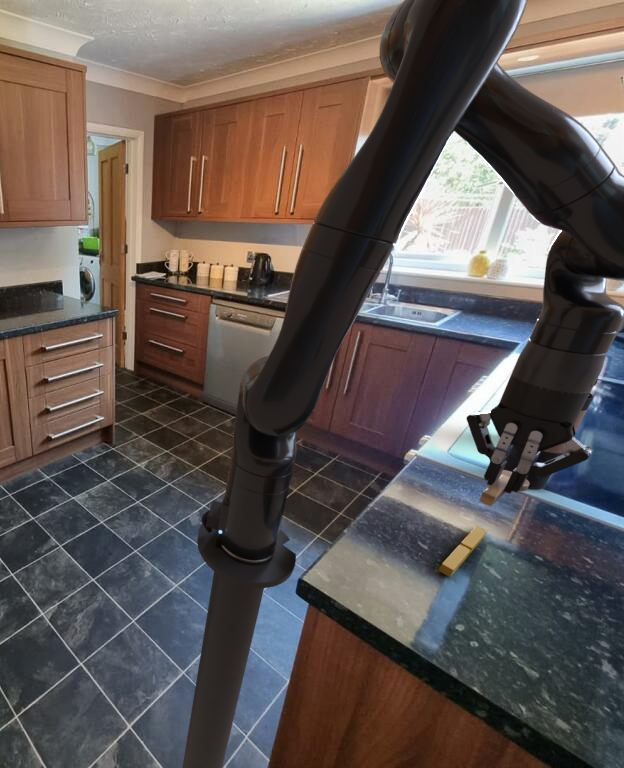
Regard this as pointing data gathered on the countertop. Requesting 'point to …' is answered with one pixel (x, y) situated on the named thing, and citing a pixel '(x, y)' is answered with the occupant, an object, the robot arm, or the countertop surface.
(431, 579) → the countertop surface
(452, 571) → the bar
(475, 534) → the bar
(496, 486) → the spoon
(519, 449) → the travel mug
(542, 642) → the countertop surface
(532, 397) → the robot arm
